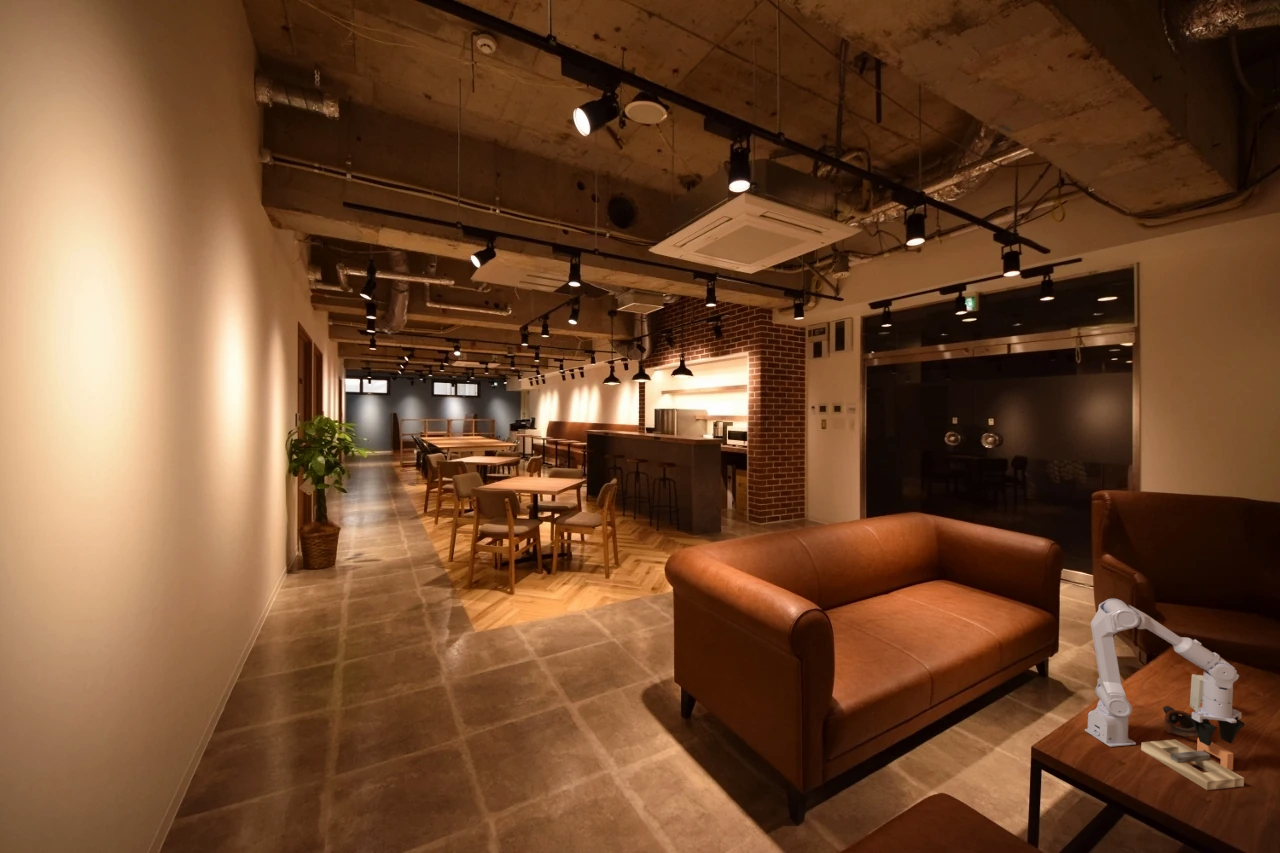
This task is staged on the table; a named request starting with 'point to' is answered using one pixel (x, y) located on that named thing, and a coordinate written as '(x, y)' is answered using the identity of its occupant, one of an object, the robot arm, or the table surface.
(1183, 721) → the pottery mug
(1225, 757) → the orange hook block
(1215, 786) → the light wood flat frame
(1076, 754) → the table surface
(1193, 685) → the skincare box
